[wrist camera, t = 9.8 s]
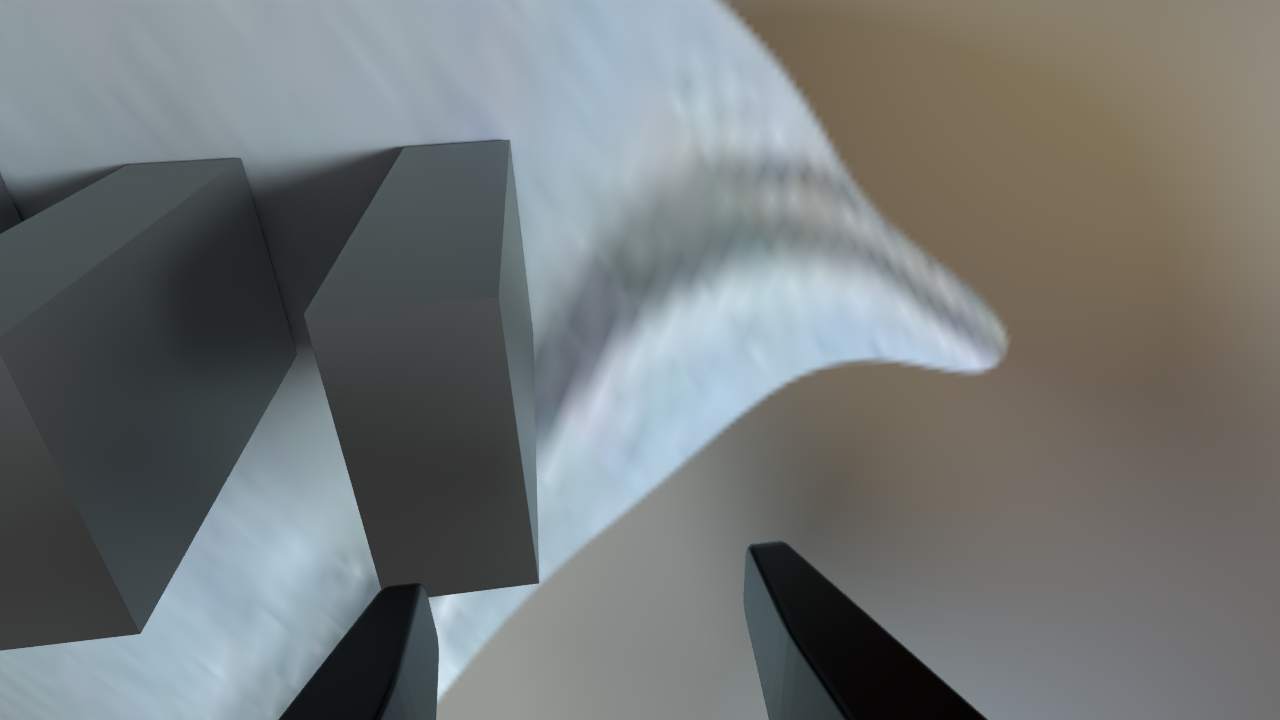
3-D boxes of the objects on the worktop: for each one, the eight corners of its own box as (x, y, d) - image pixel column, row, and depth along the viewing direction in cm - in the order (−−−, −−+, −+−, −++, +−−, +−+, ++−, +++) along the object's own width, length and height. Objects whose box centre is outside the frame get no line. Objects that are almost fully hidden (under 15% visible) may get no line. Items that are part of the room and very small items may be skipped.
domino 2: (509, 140, 17) (498, 297, 10) (533, 332, 20) (539, 583, 12) (403, 147, 17) (303, 314, 9) (440, 341, 20) (385, 602, 12)
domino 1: (241, 158, 17) (-7, 341, 9) (296, 354, 19) (140, 633, 11) (127, 164, 17) (-231, 359, 9) (198, 362, 19) (-32, 653, 11)
